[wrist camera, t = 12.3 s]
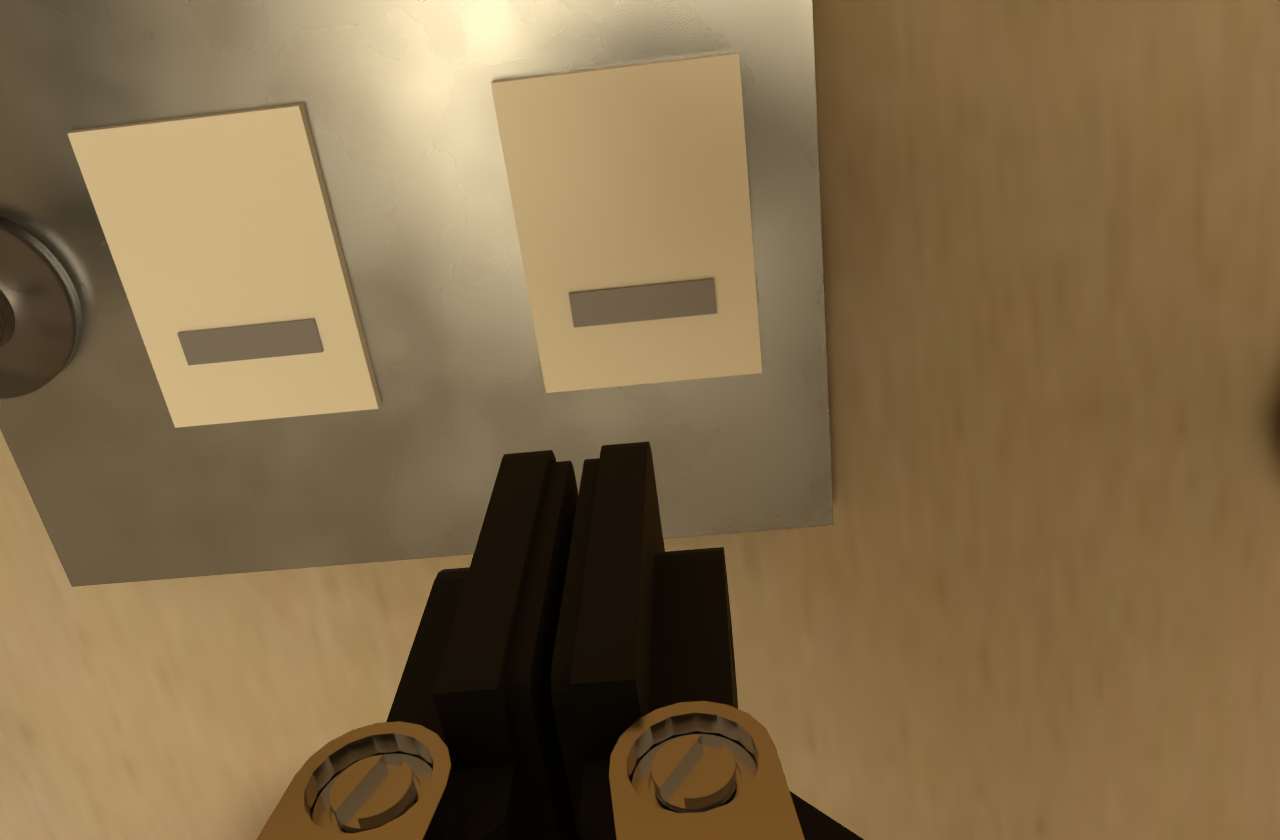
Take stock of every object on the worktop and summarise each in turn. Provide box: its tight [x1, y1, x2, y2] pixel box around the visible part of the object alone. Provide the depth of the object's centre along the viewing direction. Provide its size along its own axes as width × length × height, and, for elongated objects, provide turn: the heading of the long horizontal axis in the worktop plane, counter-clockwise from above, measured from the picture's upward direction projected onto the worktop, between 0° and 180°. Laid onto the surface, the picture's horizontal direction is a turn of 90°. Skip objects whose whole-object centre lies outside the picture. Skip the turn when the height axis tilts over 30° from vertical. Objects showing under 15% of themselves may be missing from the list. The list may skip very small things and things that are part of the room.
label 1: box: [67, 103, 381, 428], centre depth 24 cm, size 5×7×1 cm
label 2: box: [491, 51, 762, 393], centre depth 23 cm, size 5×7×1 cm
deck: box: [0, 0, 834, 587], centre depth 21 cm, size 21×16×7 cm
